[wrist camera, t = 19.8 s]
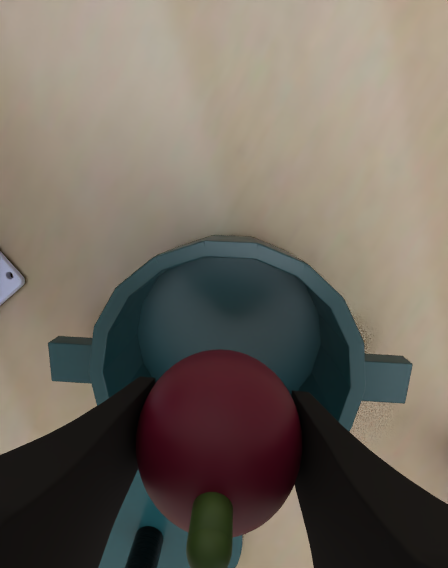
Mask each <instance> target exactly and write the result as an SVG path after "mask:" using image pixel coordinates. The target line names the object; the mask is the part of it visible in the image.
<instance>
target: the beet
mask: <svg viewBox="0 0 448 568" xmlns="http://www.w3.org/2000/svg"><path fill="white" fill-rule="evenodd" d="M136 457H137V463H138V469H139V473H140V476H141V479H142V482H143V485H144V487H145V489H146V491H147V493H148V495H149V497H150V498H151V500H152V501H153V503H154V504H155V506H156V507H157V509H158V510H159V511H160V512H161V513H162V514H163V515H164V516H165V517H166V518H167V519H168V520H169V521H171V522H172V523H173V524H175V525H176V526H178V527H179V528H181V529H182V530H184V531H186V532H188V538H187V545H186V554H187V560H188V563H189V566H190V567H191V568H227V567H228V565H229V562H230V559H231V556H232V539H233V537H237V536H240V535H243V534H246V533H248V532H250V531H252V530H254V529H256V528H258V527H260V526H261V525H263V524H264V523H265V522H267V521H268V520H269V519H270V518H271V517H272V516H273V515H274V514H275V513H276V512H277V511H278V510H279V509H280V508H281V507H282V505H283V504H284V502H285V501H286V499H287V497H288V496H289V494H290V493H291V490H292V488H293V486H294V484H295V481H296V479H297V476H298V472H299V469H300V463H301V457H302V429H301V423H300V418H299V414H298V411H297V408H296V405H295V403H294V401H293V399H292V397H291V395H290V393H289V391H288V389H287V388H286V386H285V385H284V384H283V382H282V381H281V379H280V378H279V377H278V376H277V375H276V374H275V373H274V372H273V371H272V370H271V369H270V368H268V367H267V366H266V365H265V364H263V363H262V362H260V361H259V360H257V359H256V358H253V357H251V356H249V355H247V354H244V353H241V352H237V351H232V350H222V349H219V350H208V351H202V352H199V353H195V354H193V355H191V356H188V357H186V358H184V359H182V360H181V361H179V362H177V363H176V364H174V365H173V366H172V367H171V368H169V369H168V370H167V371H166V372H165V373H164V374H163V375H162V376H161V377H160V378H159V380H158V381H157V382H156V384H155V385H154V387H153V388H152V389H151V391H150V393H149V394H148V396H147V398H146V400H145V402H144V405H143V407H142V410H141V413H140V417H139V421H138V426H137V432H136Z"/></svg>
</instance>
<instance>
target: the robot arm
mask: <svg viewBox="0 0 448 568" xmlns="http://www.w3.org/2000/svg"><path fill="white" fill-rule="evenodd" d="M10 273H12V274H13V278H12V277H11V276H10ZM24 284H25V279H24V277H23V276H22V275H21V273H20V272H19V271H18V270H17V269H16V268H15V267H14V266H13V265H12V264H11V262H10V261H9V260H8V259H7V258H6V257H5V256H4V255H3V254H2V253H1V251H0V305H1V304H3V303H4V302H5V301H6V300H7V299H8V298H9V297H11V296H12V295H13V294H14V293H15V292H16V291H17V290H19V289H20V288H21V287H22V286H23V285H24ZM155 384H156V378H152V377H141V376H140V377H138V378H137V379H135V380H134V381H133V382H131V383H130V384H128V385H127V386H126V387H124V388H123V389H121V390H120V391H119V392H117V393H116V394H114V395H113V396H111V397H110V398H108V399H107V400H106V401H104V402H103V403H101V404H99V405H98V406H96V407H95V408H93V409H91V410H90V411H88V412H87V413H85V414H84V415H82V416H80V417H79V418H77V419H75V420H74V421H72V422H70V423H68V424H66V425H65V426H63V427H61V428H59V429H57V430H55V431H53V432H51V433H49V434H47V435H45V436H43V437H41V438H39V439H36V440H34V441H32V442H30V443H27V444H25V445H23V446H21V447H18V448H16V449H14V450H11V451H9V452H7V453H4V454H2V455H0V568H98V567H99V564H100V562H101V559H102V556H103V553H104V550H105V547H106V544H107V542H108V539H109V536H110V533H111V530H112V528H113V525H114V523H115V520H116V518H117V515H118V513H119V511H120V508H121V506H122V504H123V502H124V499H125V497H126V495H127V493H128V491H129V488H130V486H131V484H132V482H133V479H134V477H135V475H136V473H137V470H138V463H137V457H136V432H137V426H138V421H139V417H140V413H141V410H142V407H143V405H144V402H145V400H146V398H147V396H148V394H149V393H150V391H151V389H152V388H153V387H154V385H155ZM291 397H292V399H293V401H294V403H295V405H296V408H297V411H298V414H299V418H300V423H301V429H302V457H301V463H300V469H299V472H298V476H297V479H296V481H295V488H296V492H297V496H298V499H299V503H300V507H301V511H302V515H303V519H304V523H305V527H306V530H307V534H308V539H309V544H310V548H311V553H312V559H313V565H314V568H448V504H446V503H445V502H443V501H441V500H440V499H438V498H436V497H435V496H433V495H432V494H430V493H429V492H427V491H426V490H424V489H423V488H421V487H420V486H418V485H417V484H415V483H413V482H412V481H410V480H409V479H408V478H406V477H405V476H403V475H402V474H400V473H399V472H398V471H396V470H395V469H394V468H392V467H391V466H390V465H388V464H387V463H386V462H384V461H383V460H382V459H381V458H379V457H378V456H377V455H375V454H374V453H373V452H372V451H370V450H369V449H368V448H367V447H366V446H365V445H363V444H362V443H361V442H360V441H359V440H358V439H357V438H355V437H354V436H353V435H352V434H351V433H350V432H349V431H348V430H347V429H346V428H344V427H343V426H342V425H341V424H340V423H339V422H338V421H337V420H336V419H335V418H334V417H333V416H332V415H331V414H330V413H329V412H328V411H327V410H326V409H325V408H324V407H323V406H322V405H321V404H320V403H319V402H318V401H317V400H316V399H315V398H314V397H313V396H312V395H311V394H310V393H309V392H304V391H293V390H292V396H291Z"/></svg>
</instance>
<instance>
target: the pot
mask: <svg viewBox="0 0 448 568" xmlns="http://www.w3.org/2000/svg"><path fill="white" fill-rule="evenodd" d="M48 347H49V357H50V367H51V377H52V381H61V382H77V383H92V387H93V391H94V395H95V399H96V403H97V406H98V405H99V404H101V403H103V402H104V401H106V400H107V399H108V398H110V397H111V396H113V395H114V394H116V393H117V392H119V391H120V390H121V389H123V388H124V387H126V386H127V385H128V384H130V383H131V382H133V381H134V380H135V379H137V378H138V377H140V376H141V377H152V378H156V382H157V381H158V380H159V378H160V377H161V376H162V375H163V374H164V373H165V372H166V371H167V370H168V369H169V368H171V367H172V366H173V365H174V364H176V363H177V362H179V361H181V360H182V359H184V358H186V357H188V356H191V355H193V354H195V353H199V352H202V351H208V350H219V349H222V350H232V351H237V352H241V353H244V354H247V355H249V356H251V357H253V358H256V359H257V360H259V361H260V362H262V363H263V364H265V365H266V366H267V367H268V368H270V369H271V370H272V371H273V372H274V373H275V374H276V375H277V376H278V377H279V378H280V379H281V381H282V382H283V384H284V385H285V386H286V388H287V389H288V391H289V393H290V395H291V396H292V390H293V391H304V392H309V393H310V394H311V395H312V396H313V397H314V398H315V399H316V400H317V401H318V402H319V403H320V404H321V405H322V406H323V407H324V408H325V409H326V410H327V411H328V412H329V413H330V414H331V415H332V416H333V417H334V418H335V419H336V420H337V421H338V422H339V423H340V424H341V425H342V426H343V427H344V428H346V429H347V430H348V431H350V429H351V427H352V425H353V422H354V419H355V417H356V414H357V411H358V408H359V406H360V403H361V401H374V402H390V403H405V400H406V395H407V390H408V385H409V380H410V375H411V370H412V363H411V362H409V361H408V360H407V359H406V358H404V357H403V356H396V355H379V354H365V352H364V341H363V339H362V337H361V334H360V332H359V330H358V328H357V326H356V324H355V321H354V319H353V317H352V315H351V313H350V310H349V308H348V306H347V304H346V302H345V300H344V299H343V297H342V296H341V295H340V294H339V293H338V292H337V291H336V290H335V289H334V288H333V287H331V286H330V285H329V284H328V283H327V282H326V281H325V280H324V279H323V278H322V277H321V276H320V275H319V274H318V273H317V272H316V271H315V270H314V269H313V268H312V267H310V266H309V265H308V264H307V263H305V262H304V261H302V260H300V259H299V258H297V257H295V256H294V255H292V254H291V253H289V252H287V251H285V250H283V249H280V248H278V247H276V246H273V245H271V244H268V243H266V242H264V241H261V240H259V239H256V238H254V237H248V236H225V235H213V236H209V237H206V238H203V239H199V240H196V241H193V242H190V243H187V244H184V245H181V246H178V247H176V248H173V249H171V250H168V251H166V252H164V253H161V254H159V255H157V256H155V257H153V258H152V259H150V260H149V261H148V262H147V263H145V264H144V265H143V266H142V267H140V268H139V269H138V270H137V271H136V272H134V273H133V274H132V275H131V276H129V277H128V278H127V279H126V280H124V281H123V282H122V283H121V284H119V285H118V286H117V287H116V288H115V290H114V292H113V294H112V295H111V297H110V299H109V301H108V303H107V304H106V306H105V308H104V310H103V311H102V313H101V315H100V317H99V319H98V320H97V322H96V324H95V326H94V330H93V338H83V337H65V336H58V337H56V338H55V339H53V340H52V341H50V342H49V343H48Z"/></svg>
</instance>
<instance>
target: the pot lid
mask: <svg viewBox="0 0 448 568" xmlns="http://www.w3.org/2000/svg"><path fill="white" fill-rule="evenodd" d="M187 538H188V532H186V531H184V530H182V529H181V528H179V527H178V526H176V525H175V524H173V523H172V522H171V521H169V520H168V519H167V518H166V517H165V516H164V515H163V514H162V513H161V512H160V511H159V510H158V509H157V507H156V506H155V504H154V503H153V501H152V500H151V498H150V497H149V495H148V493H147V491H146V489H145V487H144V485H143V482H142V479H141V476H140V473H139V469H138V470H137V473H136V475H135V477H134V479H133V482H132V484H131V486H130V488H129V491H128V493H127V495H126V497H125V499H124V502H123V504H122V506H121V508H120V511H119V513H118V515H117V518H116V520H115V523H114V525H113V528H112V530H111V533H110V536H109V539H108V542H107V544H106V547H105V550H104V553H103V556H102V559H101V562H100V564H99V567H98V568H191V567H190V566H189V563H188V560H187V554H186V545H187ZM241 550H242V535H240V536H237V537H233V539H232V556H231V559H230V562H229V565H228V567H227V568H235V567H236V565H237V564H238V561H239V558H240V555H241Z"/></svg>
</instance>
